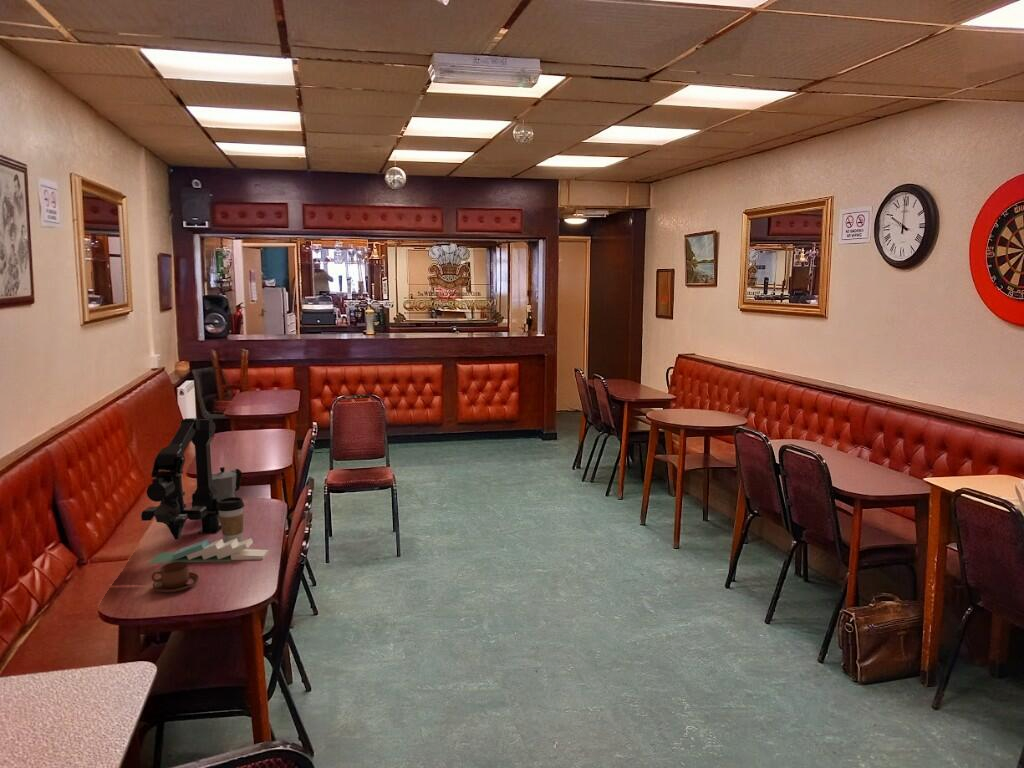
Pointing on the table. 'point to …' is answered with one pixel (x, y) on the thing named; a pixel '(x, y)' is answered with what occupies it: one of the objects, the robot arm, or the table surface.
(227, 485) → the coffeepot
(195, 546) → the domino
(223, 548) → the domino
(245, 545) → the domino
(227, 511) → the coffee cup
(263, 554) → the domino
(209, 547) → the domino
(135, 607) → the table surface
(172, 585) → the cup and saucer
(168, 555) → the baize strip
